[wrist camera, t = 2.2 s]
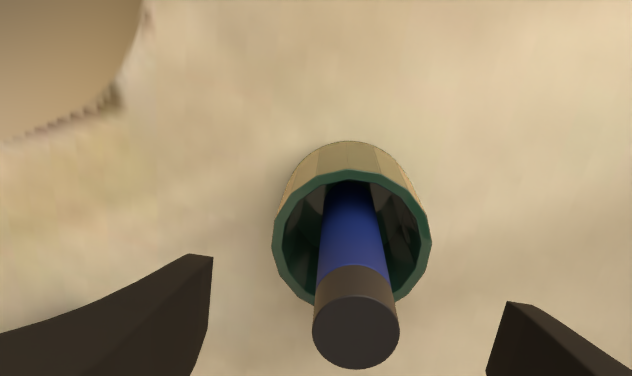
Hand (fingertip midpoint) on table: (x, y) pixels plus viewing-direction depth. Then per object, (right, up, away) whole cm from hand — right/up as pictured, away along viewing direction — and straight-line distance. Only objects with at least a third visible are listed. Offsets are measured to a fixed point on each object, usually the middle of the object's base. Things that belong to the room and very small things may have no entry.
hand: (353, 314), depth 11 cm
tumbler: (0, +3, +8) cm, 8 cm away
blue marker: (0, +2, +7) cm, 8 cm away
